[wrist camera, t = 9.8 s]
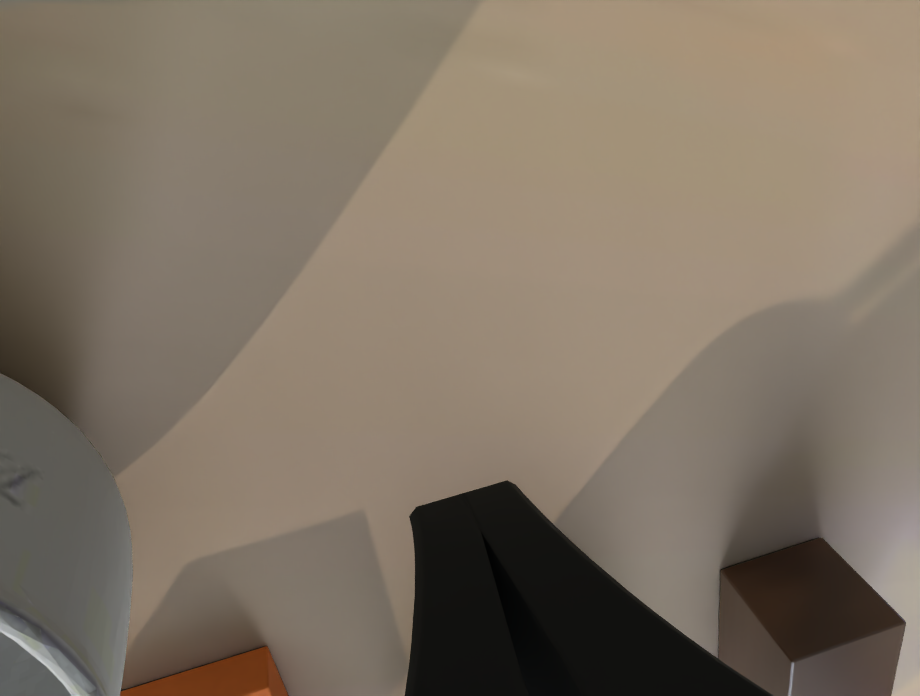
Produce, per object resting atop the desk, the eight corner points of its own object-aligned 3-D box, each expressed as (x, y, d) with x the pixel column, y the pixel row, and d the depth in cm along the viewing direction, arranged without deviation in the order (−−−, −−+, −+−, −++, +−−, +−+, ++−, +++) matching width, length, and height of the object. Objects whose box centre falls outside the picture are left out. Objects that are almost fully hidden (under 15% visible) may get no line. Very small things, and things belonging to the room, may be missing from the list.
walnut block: (821, 536, 26) (907, 622, 23) (805, 680, 30) (876, 771, 27) (719, 568, 26) (792, 662, 22) (716, 711, 30) (777, 809, 26)
